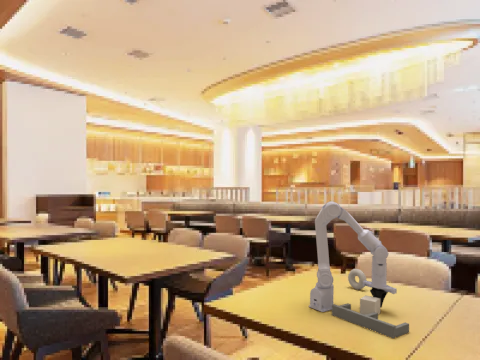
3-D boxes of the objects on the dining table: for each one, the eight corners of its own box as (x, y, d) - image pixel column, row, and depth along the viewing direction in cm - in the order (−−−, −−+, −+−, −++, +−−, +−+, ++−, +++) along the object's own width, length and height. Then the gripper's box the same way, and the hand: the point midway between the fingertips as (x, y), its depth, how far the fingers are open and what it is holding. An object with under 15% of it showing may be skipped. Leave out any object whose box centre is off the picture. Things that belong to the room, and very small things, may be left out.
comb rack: (393, 338, 126) (393, 326, 126) (331, 315, 148) (332, 304, 148) (409, 332, 132) (409, 320, 132) (347, 310, 153) (347, 300, 153)
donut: (368, 291, 182) (368, 270, 182) (363, 292, 180) (363, 271, 180) (350, 286, 190) (351, 266, 190) (346, 287, 188) (346, 267, 188)
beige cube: (359, 313, 150) (359, 298, 150) (365, 310, 154) (365, 295, 155) (374, 317, 146) (375, 301, 146) (380, 313, 151) (380, 298, 151)
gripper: (401, 276, 150) (400, 310, 150) (369, 269, 162) (369, 300, 162) (390, 278, 146) (390, 313, 146) (359, 271, 158) (359, 303, 158)
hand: (378, 307), depth 154 cm, fingers closed
